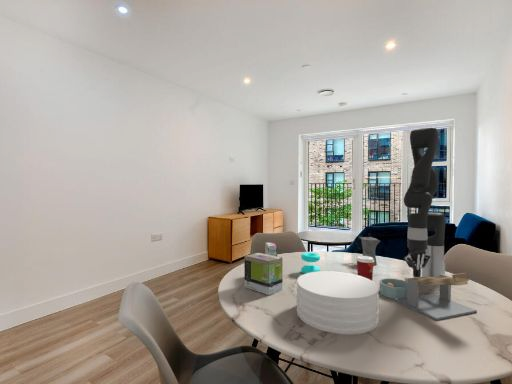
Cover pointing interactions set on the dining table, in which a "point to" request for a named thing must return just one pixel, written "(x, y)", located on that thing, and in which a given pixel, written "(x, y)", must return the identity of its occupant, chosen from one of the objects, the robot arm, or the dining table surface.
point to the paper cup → (365, 266)
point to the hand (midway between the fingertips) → (416, 277)
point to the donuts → (310, 258)
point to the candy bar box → (270, 249)
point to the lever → (443, 280)
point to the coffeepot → (368, 246)
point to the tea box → (263, 273)
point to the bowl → (393, 288)
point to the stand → (434, 302)
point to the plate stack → (338, 302)
